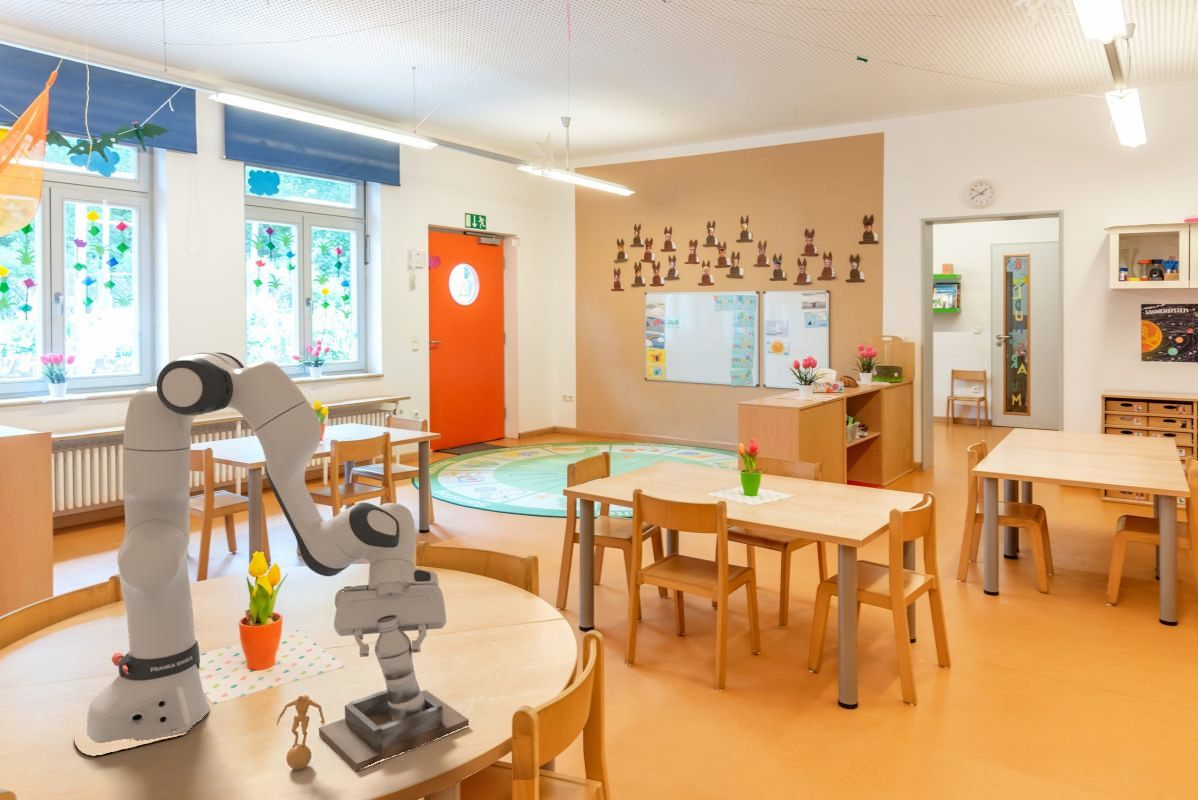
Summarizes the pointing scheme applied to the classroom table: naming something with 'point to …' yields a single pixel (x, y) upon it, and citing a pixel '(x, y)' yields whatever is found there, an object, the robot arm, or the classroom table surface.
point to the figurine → (300, 752)
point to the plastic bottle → (398, 669)
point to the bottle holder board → (387, 729)
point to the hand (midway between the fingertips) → (390, 653)
